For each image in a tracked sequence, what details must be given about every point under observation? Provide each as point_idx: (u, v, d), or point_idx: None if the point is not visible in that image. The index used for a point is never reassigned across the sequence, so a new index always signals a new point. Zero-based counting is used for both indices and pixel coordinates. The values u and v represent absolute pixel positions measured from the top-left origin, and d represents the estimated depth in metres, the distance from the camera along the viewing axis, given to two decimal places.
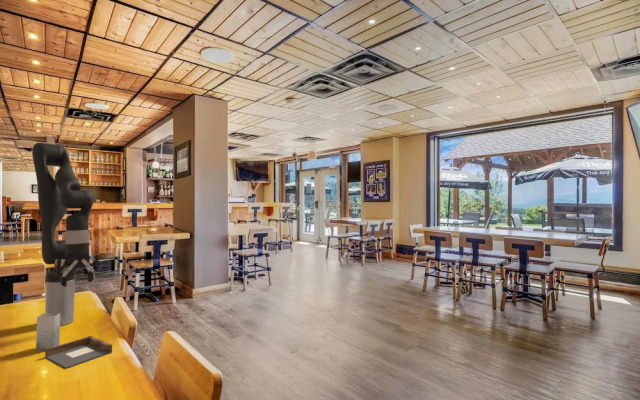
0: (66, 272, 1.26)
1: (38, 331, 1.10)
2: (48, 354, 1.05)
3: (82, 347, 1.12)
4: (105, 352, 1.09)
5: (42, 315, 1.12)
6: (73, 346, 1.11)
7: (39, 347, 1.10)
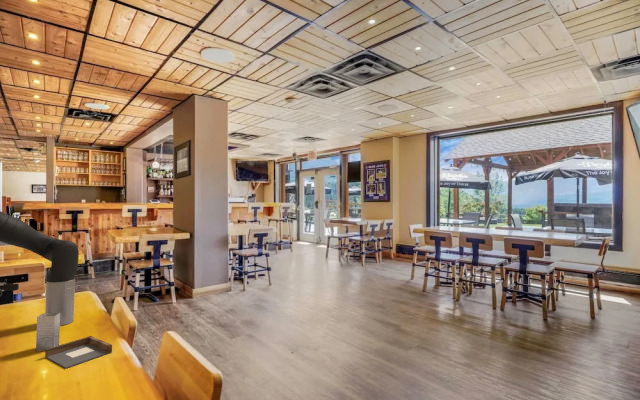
0: None
1: (38, 331, 1.10)
2: (48, 354, 1.05)
3: (82, 347, 1.12)
4: (105, 352, 1.09)
5: (42, 315, 1.12)
6: (73, 346, 1.11)
7: (39, 347, 1.10)
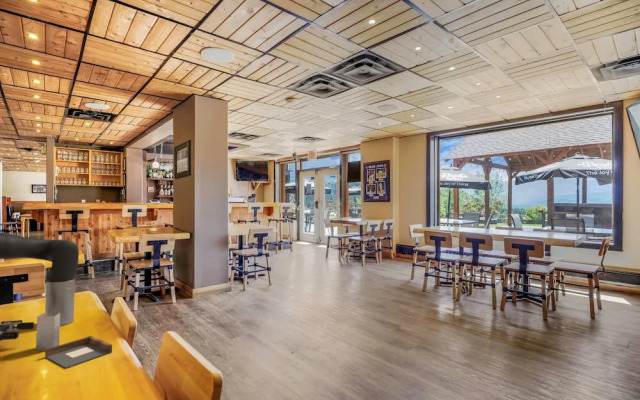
0: None
1: (38, 331, 1.10)
2: (48, 354, 1.05)
3: (82, 347, 1.12)
4: (105, 352, 1.09)
5: (42, 315, 1.12)
6: (73, 346, 1.11)
7: (39, 347, 1.10)
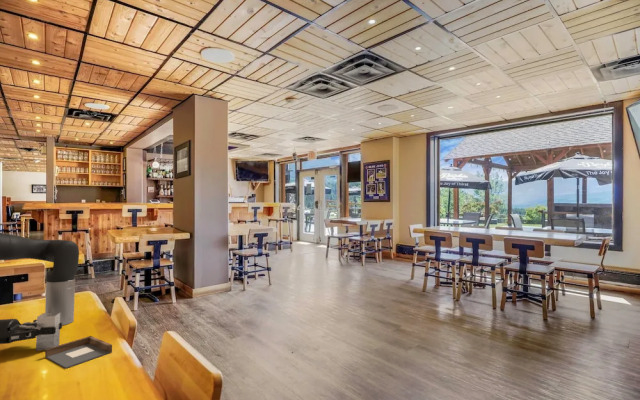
0: None
1: None
2: (48, 354, 1.05)
3: (82, 347, 1.12)
4: (105, 352, 1.09)
5: (42, 315, 1.12)
6: (73, 346, 1.11)
7: (39, 347, 1.10)
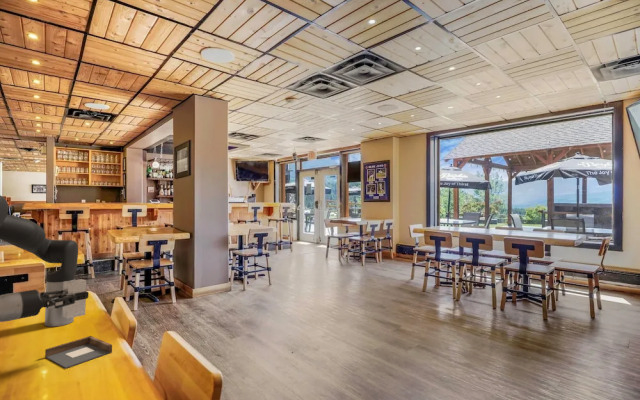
0: None
1: (69, 298, 1.05)
2: (48, 354, 1.05)
3: (82, 347, 1.12)
4: (105, 352, 1.09)
5: (69, 282, 1.06)
6: (73, 346, 1.11)
7: (70, 314, 1.05)
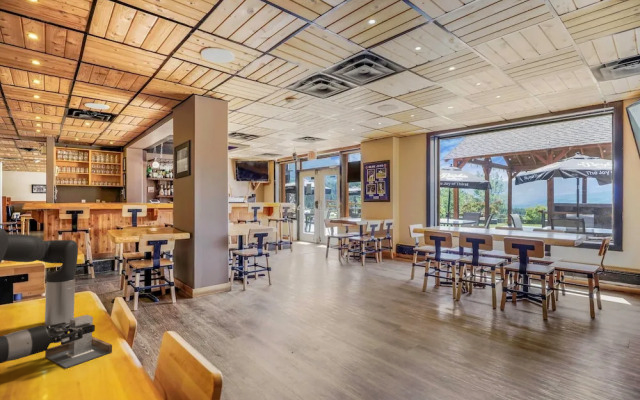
0: None
1: None
2: (48, 354, 1.05)
3: None
4: (105, 352, 1.09)
5: (76, 319, 1.07)
6: None
7: (76, 351, 1.06)
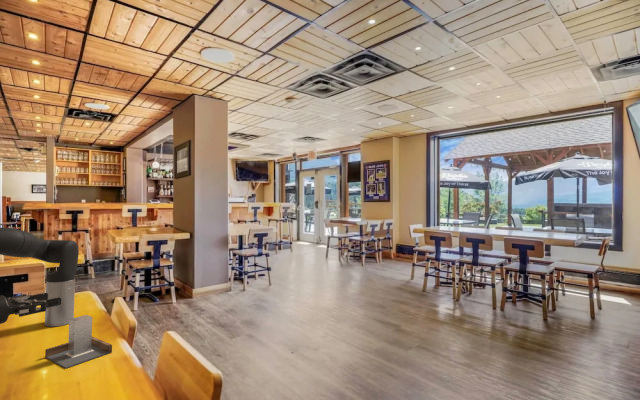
0: None
1: (76, 335, 1.06)
2: (48, 354, 1.05)
3: None
4: (105, 352, 1.09)
5: (75, 319, 1.07)
6: None
7: (76, 351, 1.06)
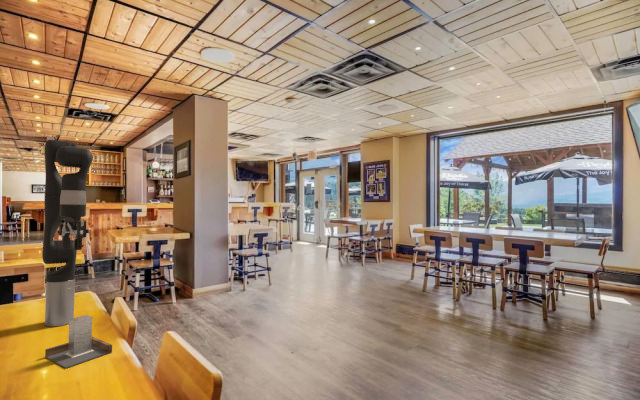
0: (63, 233, 1.21)
1: (76, 335, 1.06)
2: (48, 354, 1.05)
3: None
4: (105, 352, 1.09)
5: (75, 319, 1.07)
6: None
7: (76, 351, 1.06)
